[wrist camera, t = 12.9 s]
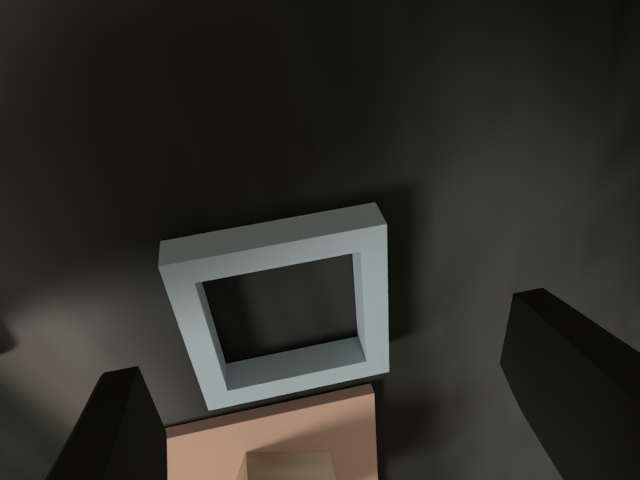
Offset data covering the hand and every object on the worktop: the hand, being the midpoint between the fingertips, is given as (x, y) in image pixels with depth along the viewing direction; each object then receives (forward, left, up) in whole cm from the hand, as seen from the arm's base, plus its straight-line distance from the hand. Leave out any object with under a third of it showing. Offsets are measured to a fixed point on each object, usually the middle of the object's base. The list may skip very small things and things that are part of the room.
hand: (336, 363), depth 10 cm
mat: (-3, -19, -9) cm, 21 cm away
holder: (-1, -7, -9) cm, 12 cm away
